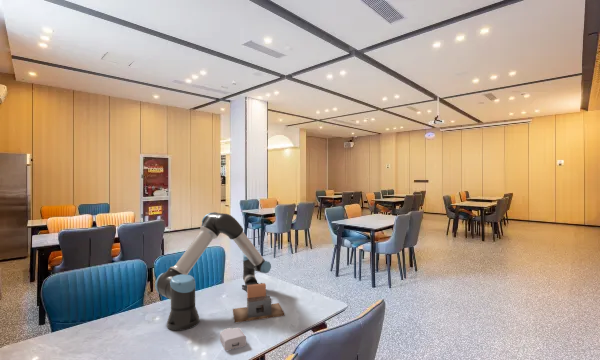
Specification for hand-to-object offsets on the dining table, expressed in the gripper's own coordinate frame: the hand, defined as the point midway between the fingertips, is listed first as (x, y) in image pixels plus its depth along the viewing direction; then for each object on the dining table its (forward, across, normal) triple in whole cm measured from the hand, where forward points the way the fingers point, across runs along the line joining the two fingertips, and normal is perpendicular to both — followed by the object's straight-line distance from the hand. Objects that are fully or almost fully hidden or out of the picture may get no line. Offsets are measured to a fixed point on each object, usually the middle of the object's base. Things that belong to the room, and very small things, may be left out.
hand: (256, 295), depth 174 cm
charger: (+32, +16, -7) cm, 37 cm away
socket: (+12, 0, -6) cm, 13 cm away
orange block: (+6, 0, -5) cm, 8 cm away
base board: (+8, 0, -7) cm, 11 cm away
